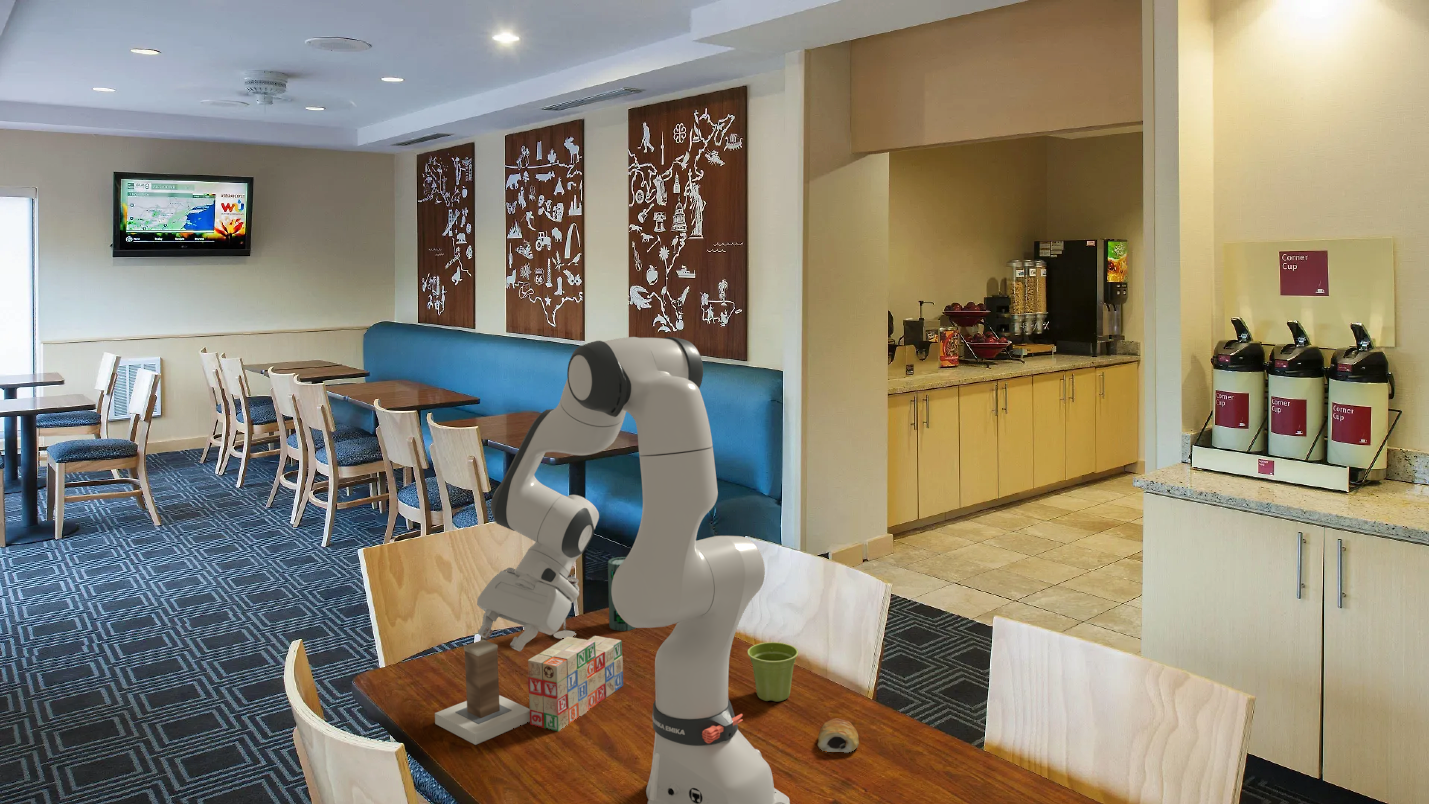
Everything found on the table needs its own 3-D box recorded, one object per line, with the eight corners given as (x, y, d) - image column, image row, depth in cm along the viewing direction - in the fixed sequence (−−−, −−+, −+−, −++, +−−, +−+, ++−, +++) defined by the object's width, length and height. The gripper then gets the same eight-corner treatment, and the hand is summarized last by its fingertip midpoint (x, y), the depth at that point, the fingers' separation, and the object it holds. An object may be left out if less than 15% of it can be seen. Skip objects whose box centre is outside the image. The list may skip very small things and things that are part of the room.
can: (620, 632, 221) (618, 566, 219) (604, 625, 225) (603, 560, 223) (642, 626, 224) (641, 561, 222) (627, 619, 229) (625, 555, 227)
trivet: (532, 720, 179) (531, 709, 178) (475, 744, 170) (474, 733, 169) (491, 701, 186) (491, 690, 186) (435, 723, 178) (434, 712, 177)
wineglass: (543, 637, 218) (541, 584, 216) (559, 627, 224) (558, 575, 223) (570, 642, 215) (568, 588, 214) (586, 631, 222) (584, 578, 220)
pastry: (820, 728, 175) (820, 707, 175) (859, 731, 174) (860, 710, 174) (817, 753, 166) (817, 732, 166) (858, 757, 165) (859, 735, 164)
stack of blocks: (596, 680, 196) (595, 619, 194) (623, 686, 193) (622, 624, 191) (529, 725, 177) (526, 658, 175) (558, 732, 174) (556, 665, 172)
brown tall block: (500, 710, 178) (497, 645, 176) (480, 718, 175) (477, 651, 173) (486, 704, 181) (483, 639, 179) (466, 711, 178) (464, 646, 176)
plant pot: (769, 711, 182) (769, 665, 180) (737, 693, 189) (737, 649, 188) (808, 697, 187) (808, 653, 186) (776, 681, 195) (775, 638, 193)
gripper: (494, 557, 190) (453, 621, 184) (565, 577, 176) (523, 647, 170) (515, 574, 193) (474, 637, 187) (585, 596, 180) (544, 664, 174)
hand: (498, 642), depth 179 cm, fingers open, 8 cm apart
